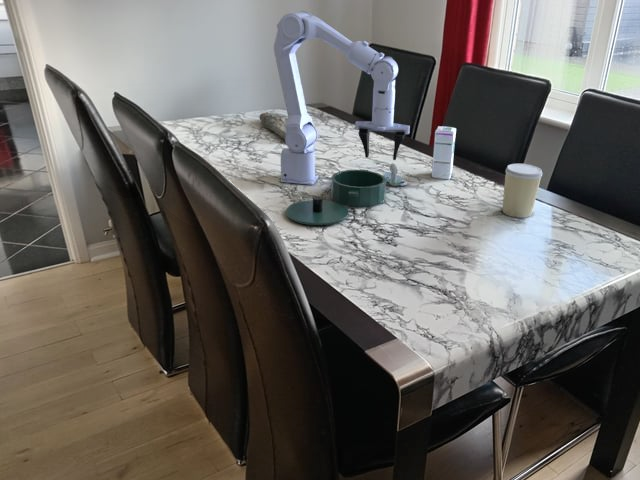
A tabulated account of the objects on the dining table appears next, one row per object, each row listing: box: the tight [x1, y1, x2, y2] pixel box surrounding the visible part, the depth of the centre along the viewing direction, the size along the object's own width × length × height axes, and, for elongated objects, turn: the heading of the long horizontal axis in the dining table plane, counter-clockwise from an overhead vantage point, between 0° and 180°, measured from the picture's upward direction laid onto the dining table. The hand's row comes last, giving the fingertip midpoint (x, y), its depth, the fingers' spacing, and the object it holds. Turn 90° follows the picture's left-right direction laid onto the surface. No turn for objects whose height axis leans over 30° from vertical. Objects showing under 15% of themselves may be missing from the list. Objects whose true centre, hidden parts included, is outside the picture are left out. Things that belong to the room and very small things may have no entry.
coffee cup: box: [502, 163, 543, 219], centre depth 151 cm, size 9×9×12 cm
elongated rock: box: [259, 111, 288, 141], centre depth 211 cm, size 35×5×10 cm
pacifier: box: [383, 162, 408, 187], centre depth 167 cm, size 7×6×6 cm
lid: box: [285, 195, 350, 226], centre depth 144 cm, size 16×16×5 cm
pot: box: [330, 168, 387, 208], centre depth 156 cm, size 15×20×5 cm
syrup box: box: [431, 125, 457, 180], centre depth 174 cm, size 6×6×14 cm
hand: (380, 157), depth 158 cm, fingers open, 7 cm apart
